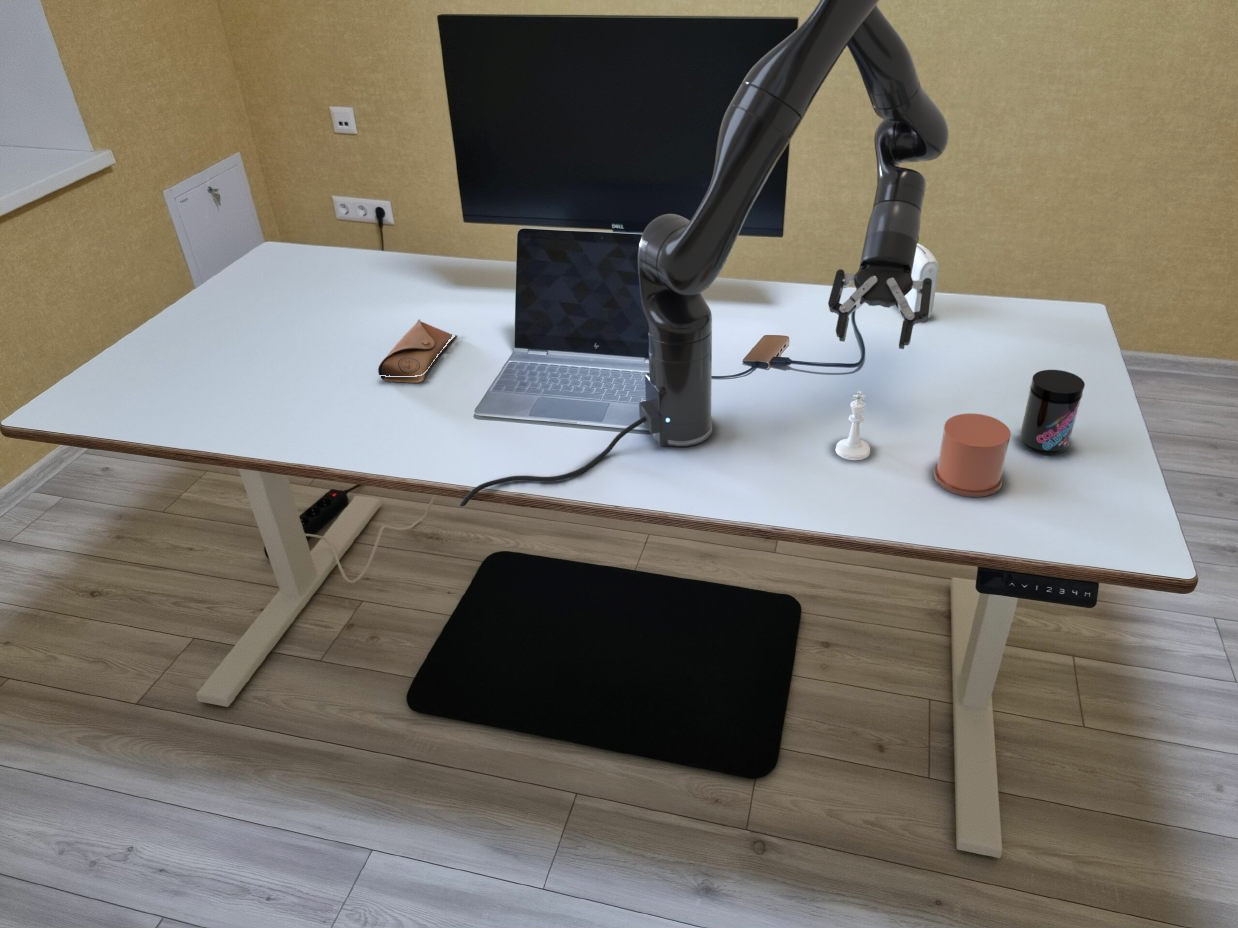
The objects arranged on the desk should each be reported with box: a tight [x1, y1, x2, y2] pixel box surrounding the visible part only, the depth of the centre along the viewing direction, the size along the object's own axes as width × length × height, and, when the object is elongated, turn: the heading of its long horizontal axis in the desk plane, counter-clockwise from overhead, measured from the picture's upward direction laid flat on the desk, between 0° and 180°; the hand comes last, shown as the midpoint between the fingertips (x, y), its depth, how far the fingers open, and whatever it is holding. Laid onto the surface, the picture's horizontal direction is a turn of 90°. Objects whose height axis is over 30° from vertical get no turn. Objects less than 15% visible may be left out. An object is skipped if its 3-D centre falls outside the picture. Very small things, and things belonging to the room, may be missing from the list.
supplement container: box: [1019, 369, 1086, 456], centre depth 132 cm, size 7×7×10 cm
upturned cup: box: [933, 412, 1011, 498], centre depth 126 cm, size 9×9×8 cm
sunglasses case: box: [377, 318, 458, 384], centre depth 166 cm, size 18×7×7 cm
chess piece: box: [835, 390, 871, 461], centre depth 133 cm, size 5×5×10 cm
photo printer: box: [905, 242, 940, 319], centre depth 169 cm, size 10×4×12 cm, turn 11°
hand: (871, 343), depth 135 cm, fingers open, 8 cm apart
